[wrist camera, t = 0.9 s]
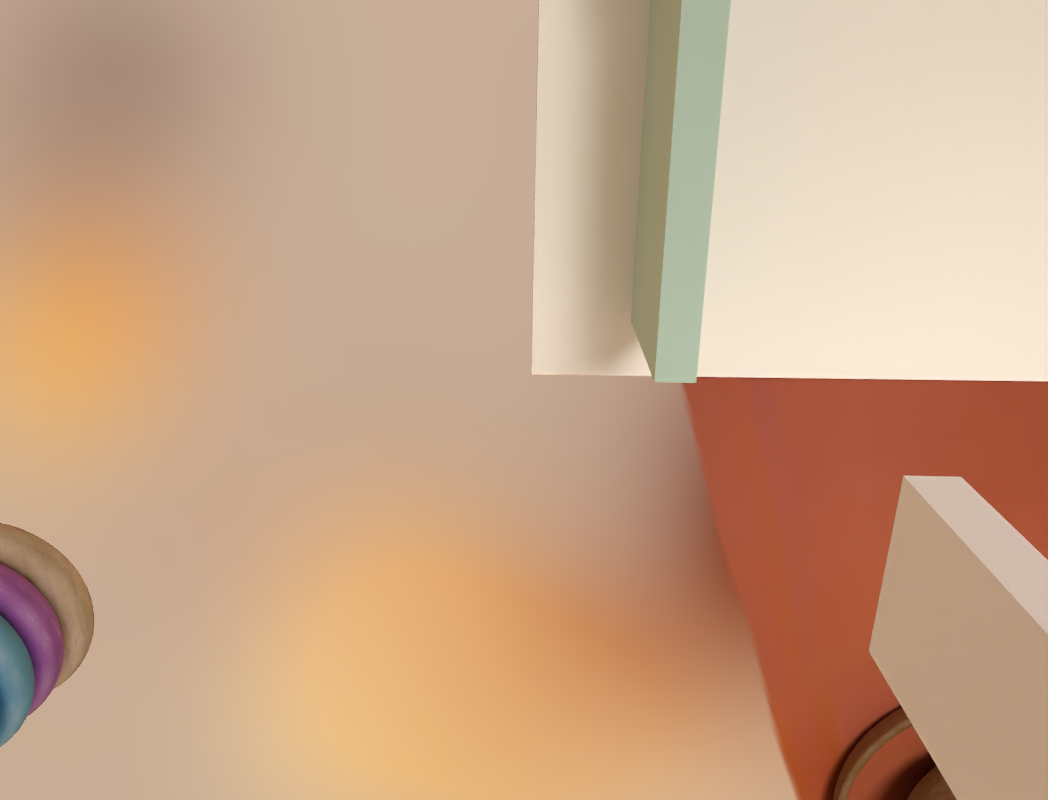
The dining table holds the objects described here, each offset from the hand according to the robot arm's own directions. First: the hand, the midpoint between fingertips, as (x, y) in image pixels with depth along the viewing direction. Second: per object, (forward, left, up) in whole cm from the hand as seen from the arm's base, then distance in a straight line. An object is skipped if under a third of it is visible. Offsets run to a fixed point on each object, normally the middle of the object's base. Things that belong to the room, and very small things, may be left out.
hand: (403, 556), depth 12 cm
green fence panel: (-6, -3, -20) cm, 21 cm away
